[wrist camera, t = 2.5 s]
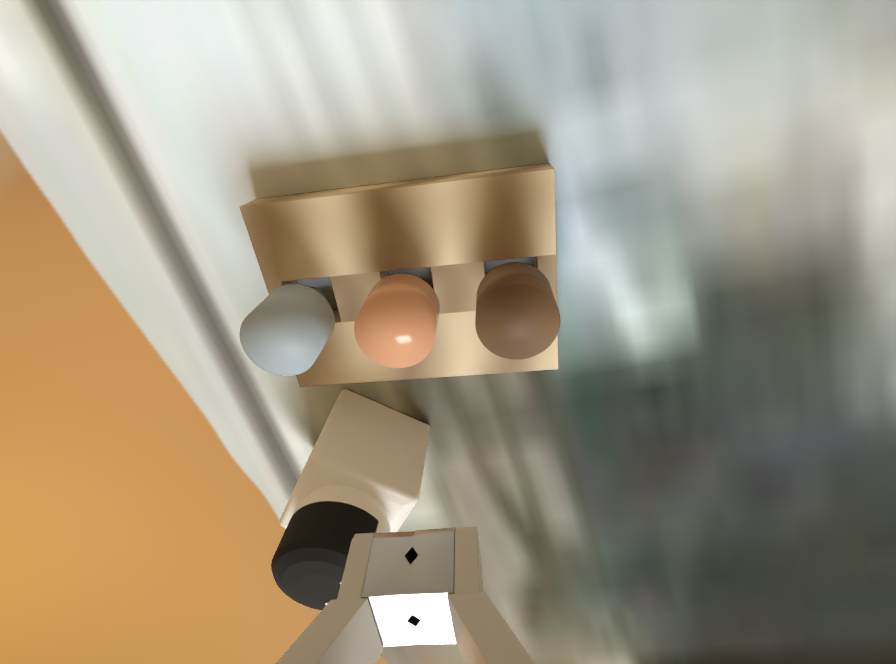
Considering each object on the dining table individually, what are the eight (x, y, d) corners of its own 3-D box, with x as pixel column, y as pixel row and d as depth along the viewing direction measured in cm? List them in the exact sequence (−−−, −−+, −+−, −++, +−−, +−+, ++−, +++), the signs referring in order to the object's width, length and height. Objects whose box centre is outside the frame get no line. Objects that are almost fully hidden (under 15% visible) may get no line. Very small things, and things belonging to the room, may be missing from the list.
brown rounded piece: (546, 246, 25) (559, 280, 20) (548, 312, 27) (561, 356, 22) (473, 253, 25) (471, 288, 21) (480, 318, 27) (479, 362, 23)
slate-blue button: (335, 267, 26) (305, 303, 22) (351, 328, 28) (326, 373, 24) (270, 274, 27) (228, 310, 22) (290, 333, 29) (255, 378, 24)
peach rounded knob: (438, 257, 26) (428, 292, 21) (447, 320, 27) (440, 364, 23) (369, 264, 26) (345, 300, 22) (382, 326, 28) (363, 370, 24)
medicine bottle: (312, 450, 36) (241, 600, 25) (343, 385, 33) (275, 526, 22) (394, 483, 37) (359, 641, 27) (432, 424, 34) (408, 576, 23)
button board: (549, 163, 25) (554, 168, 23) (553, 352, 30) (558, 369, 28) (255, 199, 27) (239, 207, 25) (310, 370, 32) (300, 386, 31)
